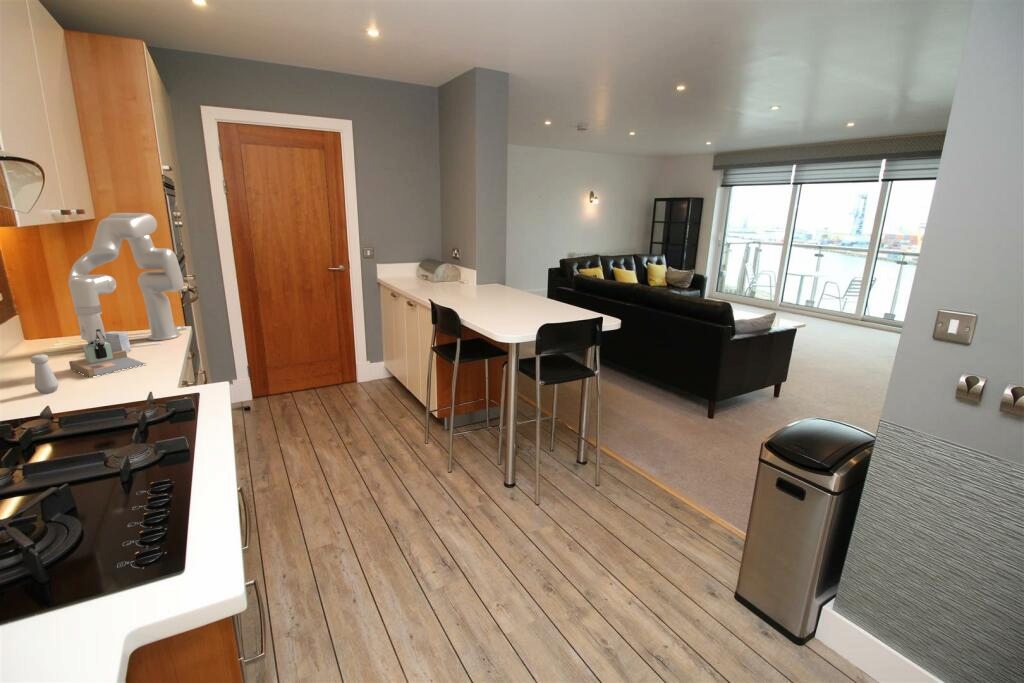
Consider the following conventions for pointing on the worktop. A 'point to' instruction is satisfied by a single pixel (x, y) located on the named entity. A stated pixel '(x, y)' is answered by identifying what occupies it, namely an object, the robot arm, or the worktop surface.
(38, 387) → the salt shaker
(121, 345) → the medicine box
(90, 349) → the green block
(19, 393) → the worktop surface
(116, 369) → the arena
